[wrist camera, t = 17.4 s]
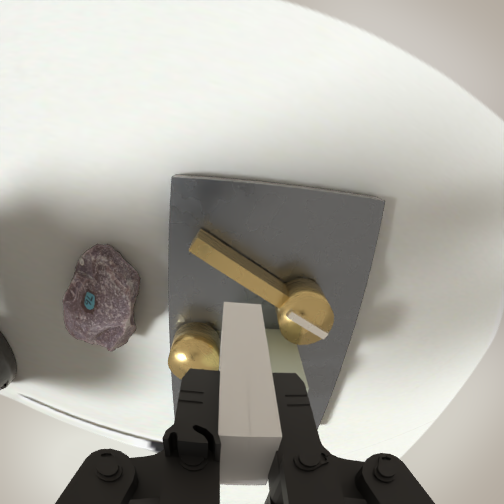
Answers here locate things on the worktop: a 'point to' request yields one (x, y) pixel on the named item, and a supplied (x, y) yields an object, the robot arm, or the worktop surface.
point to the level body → (284, 355)
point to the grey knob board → (267, 265)
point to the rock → (102, 298)
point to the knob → (272, 291)
